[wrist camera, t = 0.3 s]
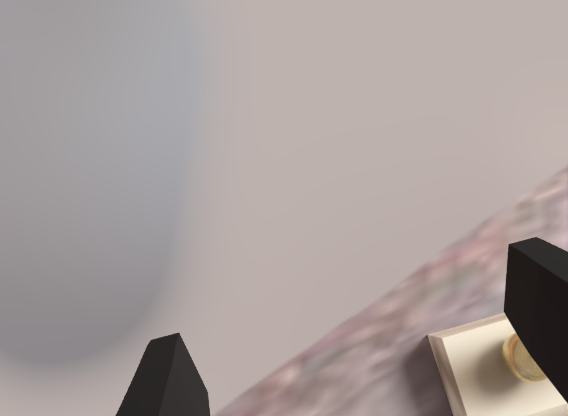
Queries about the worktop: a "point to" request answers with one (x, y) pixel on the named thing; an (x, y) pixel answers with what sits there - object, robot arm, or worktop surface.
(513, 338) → the brass ball
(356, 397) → the worktop surface
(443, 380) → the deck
